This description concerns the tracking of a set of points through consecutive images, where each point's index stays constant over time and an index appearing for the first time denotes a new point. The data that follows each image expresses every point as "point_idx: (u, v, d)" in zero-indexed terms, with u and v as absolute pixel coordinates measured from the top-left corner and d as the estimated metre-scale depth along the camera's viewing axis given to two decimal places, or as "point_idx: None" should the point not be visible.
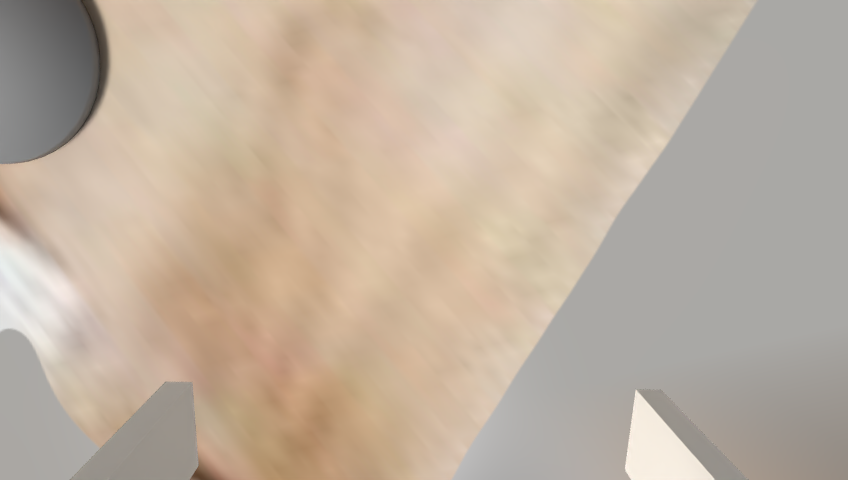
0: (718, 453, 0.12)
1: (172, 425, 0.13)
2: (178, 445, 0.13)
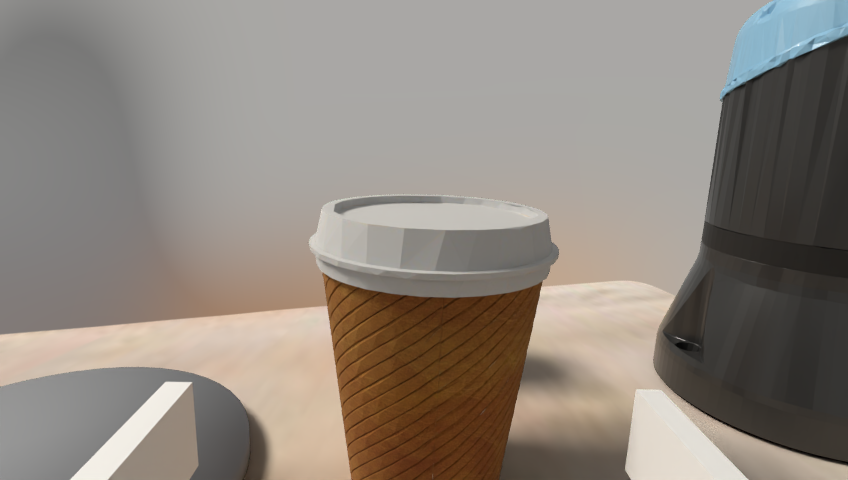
0: (718, 453, 0.12)
1: (172, 425, 0.13)
2: (178, 445, 0.13)
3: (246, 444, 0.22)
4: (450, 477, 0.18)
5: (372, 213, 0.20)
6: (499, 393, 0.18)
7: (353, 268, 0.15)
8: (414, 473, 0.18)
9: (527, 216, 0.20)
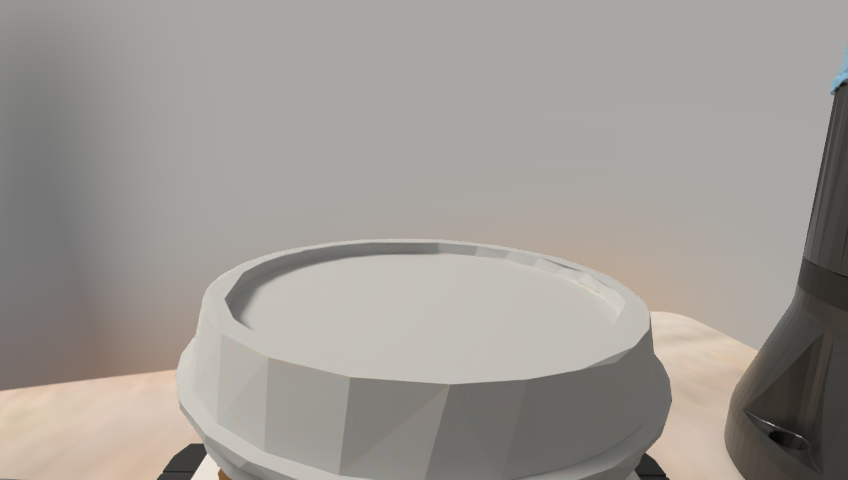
0: None
1: None
2: None
3: None
4: None
5: (313, 288, 0.11)
6: None
7: (234, 461, 0.07)
8: None
9: (592, 290, 0.11)
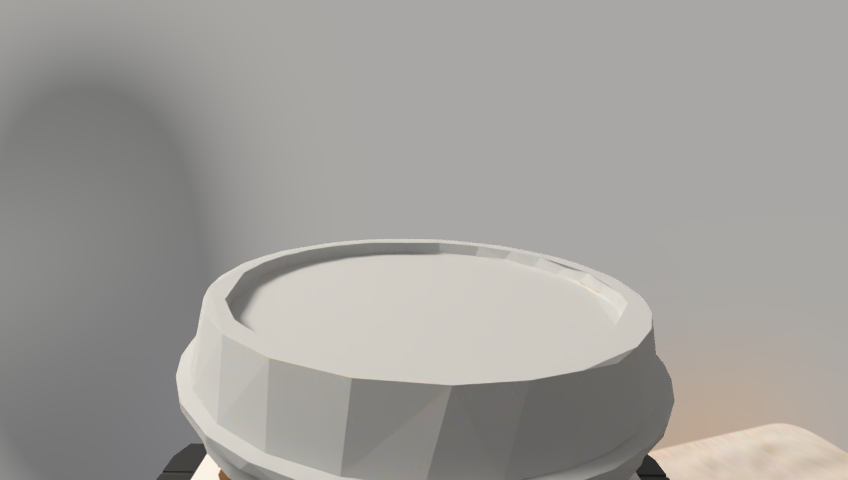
0: None
1: None
2: None
3: None
4: None
5: (314, 288, 0.11)
6: None
7: (235, 462, 0.07)
8: None
9: (594, 290, 0.11)
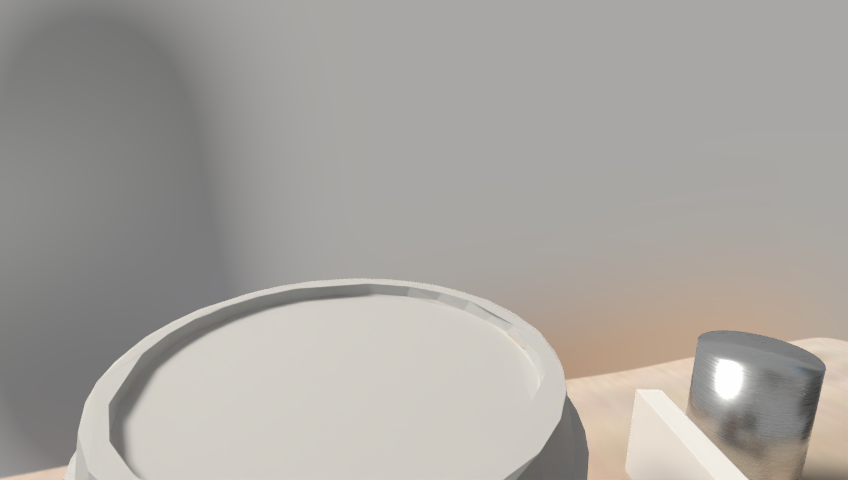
0: (718, 453, 0.12)
1: None
2: None
3: None
4: None
5: (222, 363, 0.10)
6: None
7: None
8: None
9: (520, 345, 0.11)
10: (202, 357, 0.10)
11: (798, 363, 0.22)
